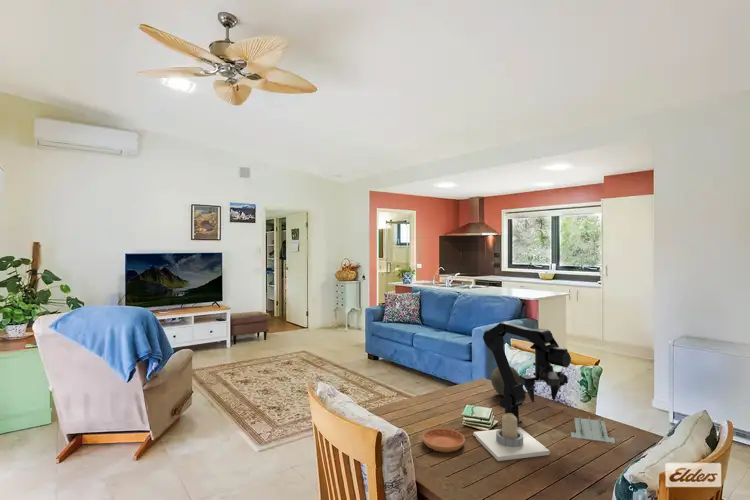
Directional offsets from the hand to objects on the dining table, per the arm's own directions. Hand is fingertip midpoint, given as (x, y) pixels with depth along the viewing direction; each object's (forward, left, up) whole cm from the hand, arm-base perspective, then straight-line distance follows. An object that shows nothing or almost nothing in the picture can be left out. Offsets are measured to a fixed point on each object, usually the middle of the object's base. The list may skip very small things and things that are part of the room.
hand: (543, 400), depth 167 cm
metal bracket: (+5, +18, -14) cm, 23 cm away
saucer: (0, -42, -14) cm, 44 cm away
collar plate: (+6, -18, -13) cm, 23 cm away
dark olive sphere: (-41, +6, -13) cm, 43 cm away
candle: (+6, -18, -12) cm, 22 cm away
